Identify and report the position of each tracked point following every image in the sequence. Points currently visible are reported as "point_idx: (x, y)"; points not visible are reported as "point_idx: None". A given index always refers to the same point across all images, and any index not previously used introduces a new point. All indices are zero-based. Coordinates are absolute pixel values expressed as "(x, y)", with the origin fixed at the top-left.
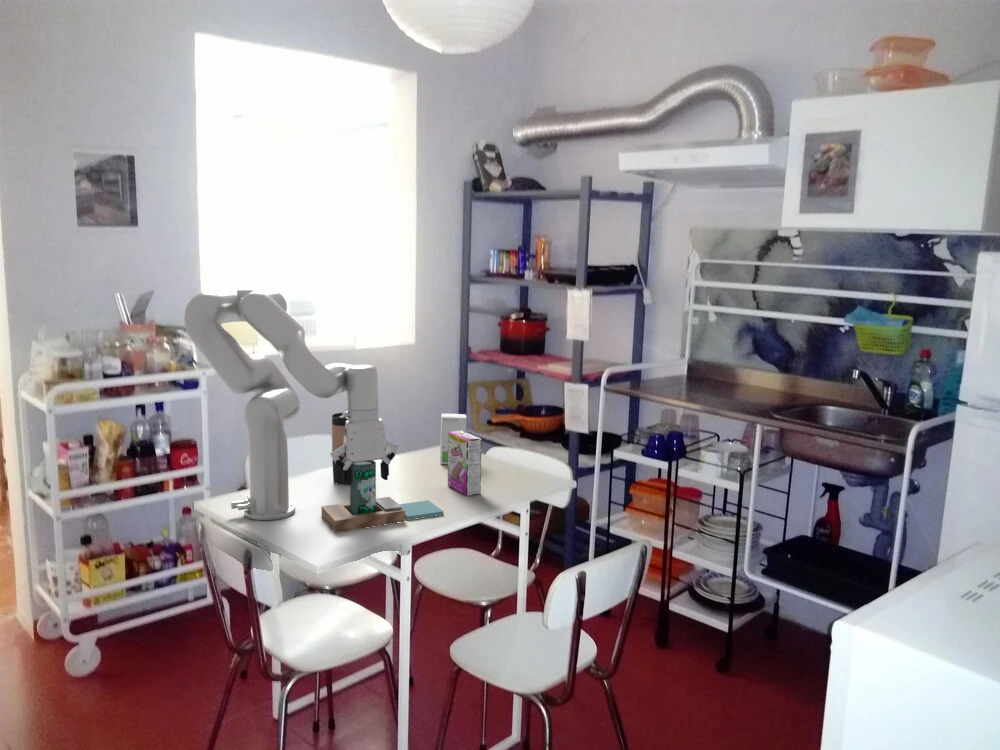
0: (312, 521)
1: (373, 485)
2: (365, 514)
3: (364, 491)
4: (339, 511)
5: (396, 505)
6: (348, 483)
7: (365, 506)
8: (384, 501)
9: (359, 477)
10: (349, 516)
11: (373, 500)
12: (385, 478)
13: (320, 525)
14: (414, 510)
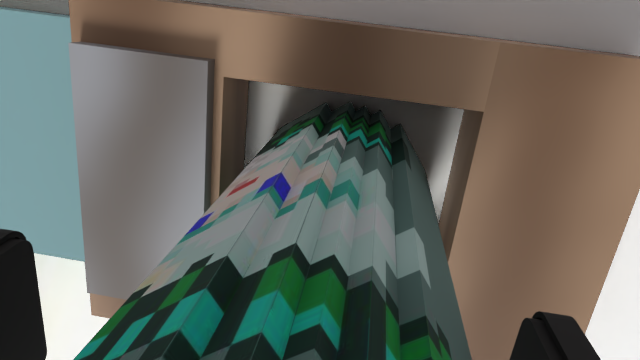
0: (617, 321)
1: (214, 222)
2: (384, 76)
3: (354, 192)
4: (517, 246)
5: (97, 96)
6: (576, 330)
7: (356, 137)
8: (150, 226)
9: (416, 332)
10: (520, 101)
11: (264, 161)
12: (6, 244)
13: (622, 237)
14: (3, 106)
